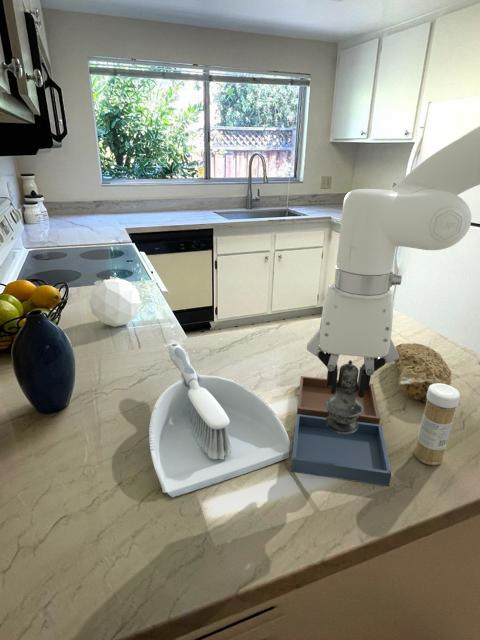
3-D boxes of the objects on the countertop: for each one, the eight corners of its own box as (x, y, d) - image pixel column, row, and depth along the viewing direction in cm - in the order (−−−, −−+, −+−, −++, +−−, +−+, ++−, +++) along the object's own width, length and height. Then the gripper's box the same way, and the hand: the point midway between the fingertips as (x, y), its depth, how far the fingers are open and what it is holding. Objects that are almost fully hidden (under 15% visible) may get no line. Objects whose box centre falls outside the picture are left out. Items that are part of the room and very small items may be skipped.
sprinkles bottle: (431, 446, 71) (447, 380, 66) (448, 465, 67) (467, 396, 61) (407, 449, 70) (422, 383, 65) (423, 468, 66) (440, 399, 61)
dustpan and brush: (163, 502, 59) (158, 451, 55) (121, 389, 86) (116, 350, 83) (296, 456, 68) (300, 409, 64) (220, 367, 95) (220, 331, 92)
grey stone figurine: (319, 413, 69) (326, 351, 65) (353, 412, 70) (362, 351, 65) (329, 435, 64) (337, 370, 59) (365, 434, 64) (376, 369, 60)
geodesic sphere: (77, 318, 106) (106, 273, 105) (74, 301, 118) (100, 260, 117) (126, 342, 114) (154, 300, 113) (119, 323, 126) (144, 286, 125)
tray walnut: (371, 393, 86) (373, 383, 85) (378, 429, 75) (380, 418, 74) (299, 385, 89) (300, 375, 88) (296, 419, 77) (297, 408, 77)
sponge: (449, 416, 81) (455, 358, 95) (448, 386, 77) (455, 330, 92) (381, 407, 88) (396, 353, 102) (378, 379, 84) (394, 327, 98)
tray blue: (379, 435, 73) (381, 424, 72) (389, 486, 62) (391, 473, 61) (295, 424, 76) (296, 413, 75) (290, 471, 65) (291, 459, 64)
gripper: (418, 277, 59) (397, 384, 66) (303, 269, 62) (295, 373, 69) (430, 293, 52) (405, 411, 59) (301, 284, 55) (292, 397, 62)
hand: (346, 389), depth 64 cm, fingers closed on grey stone figurine, 3 cm apart
